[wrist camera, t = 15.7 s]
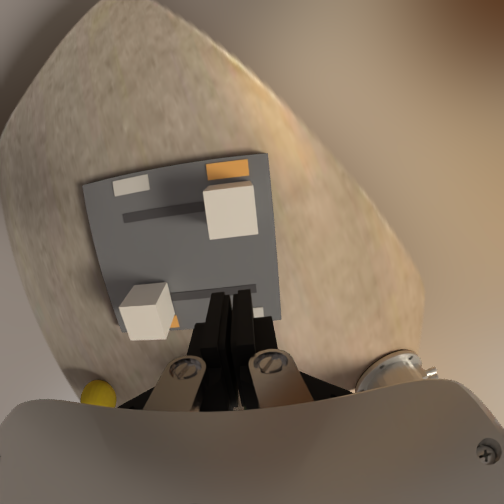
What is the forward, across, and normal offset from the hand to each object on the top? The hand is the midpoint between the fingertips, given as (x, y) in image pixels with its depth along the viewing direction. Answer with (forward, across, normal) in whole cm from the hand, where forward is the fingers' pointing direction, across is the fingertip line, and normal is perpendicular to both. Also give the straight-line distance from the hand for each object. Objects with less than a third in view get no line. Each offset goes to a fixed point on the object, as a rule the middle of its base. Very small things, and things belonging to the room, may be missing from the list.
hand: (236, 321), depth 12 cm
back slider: (+17, +10, +7) cm, 21 cm away
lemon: (+19, +24, +22) cm, 38 cm away
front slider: (+17, 0, -3) cm, 17 cm away
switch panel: (+18, +6, +2) cm, 20 cm away
